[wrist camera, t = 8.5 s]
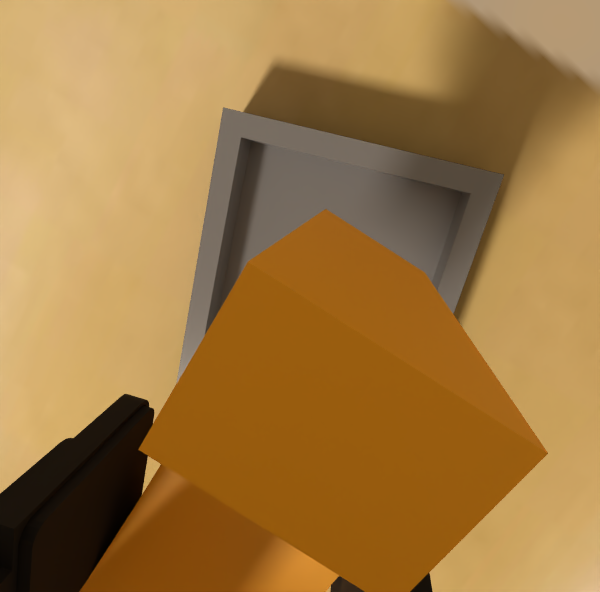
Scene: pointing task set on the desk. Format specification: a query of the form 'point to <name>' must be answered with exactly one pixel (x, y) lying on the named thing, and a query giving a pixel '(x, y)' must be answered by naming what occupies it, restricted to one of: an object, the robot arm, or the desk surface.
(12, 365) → the desk surface
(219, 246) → the parts tray
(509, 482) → the orange blocky piece
